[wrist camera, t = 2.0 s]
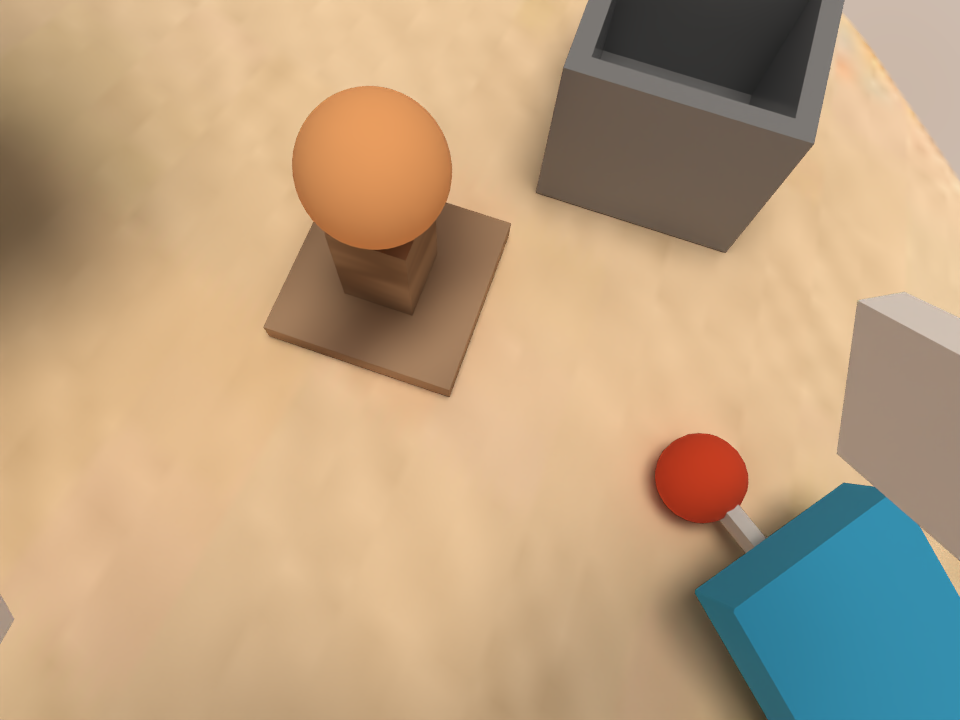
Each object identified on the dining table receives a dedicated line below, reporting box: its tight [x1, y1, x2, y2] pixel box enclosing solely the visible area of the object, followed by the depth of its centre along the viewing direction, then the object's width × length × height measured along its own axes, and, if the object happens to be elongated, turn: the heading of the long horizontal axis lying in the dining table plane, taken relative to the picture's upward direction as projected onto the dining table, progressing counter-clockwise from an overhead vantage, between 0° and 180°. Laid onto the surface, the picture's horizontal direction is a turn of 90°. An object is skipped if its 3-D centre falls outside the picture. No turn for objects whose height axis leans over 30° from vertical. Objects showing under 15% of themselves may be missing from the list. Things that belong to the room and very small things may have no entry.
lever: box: [655, 433, 960, 720], centre depth 25 cm, size 7×7×18 cm
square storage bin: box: [536, 0, 844, 253], centre depth 29 cm, size 9×9×8 cm
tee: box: [264, 203, 511, 397], centre depth 27 cm, size 8×8×6 cm
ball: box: [292, 86, 452, 250], centre depth 22 cm, size 5×5×5 cm
